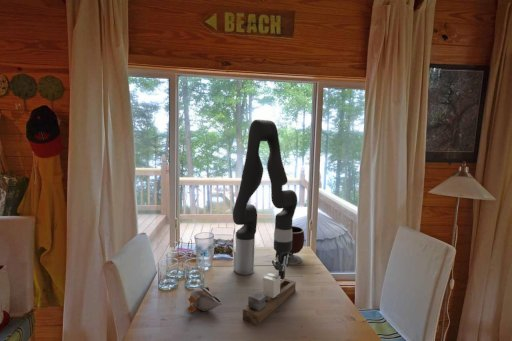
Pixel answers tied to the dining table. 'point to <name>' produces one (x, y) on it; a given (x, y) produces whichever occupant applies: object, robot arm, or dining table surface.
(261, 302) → the beam
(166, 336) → the dining table surface
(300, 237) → the mate gourd
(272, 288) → the block
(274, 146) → the robot arm
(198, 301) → the decorative duck model
